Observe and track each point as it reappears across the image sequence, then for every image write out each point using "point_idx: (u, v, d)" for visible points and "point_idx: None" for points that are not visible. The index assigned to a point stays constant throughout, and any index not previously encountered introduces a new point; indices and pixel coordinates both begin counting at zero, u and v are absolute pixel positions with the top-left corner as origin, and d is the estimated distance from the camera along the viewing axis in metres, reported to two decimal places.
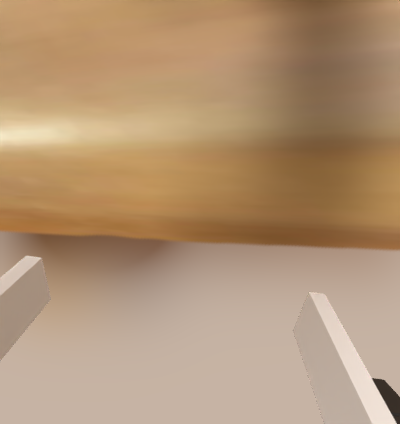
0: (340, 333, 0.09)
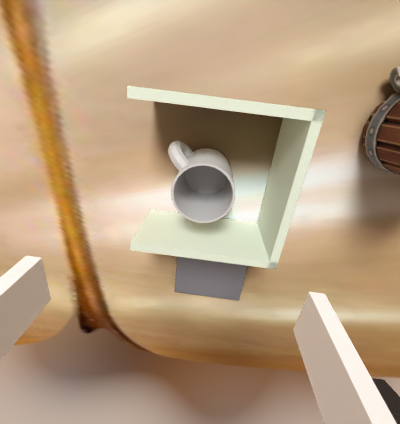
0: (340, 333, 0.09)
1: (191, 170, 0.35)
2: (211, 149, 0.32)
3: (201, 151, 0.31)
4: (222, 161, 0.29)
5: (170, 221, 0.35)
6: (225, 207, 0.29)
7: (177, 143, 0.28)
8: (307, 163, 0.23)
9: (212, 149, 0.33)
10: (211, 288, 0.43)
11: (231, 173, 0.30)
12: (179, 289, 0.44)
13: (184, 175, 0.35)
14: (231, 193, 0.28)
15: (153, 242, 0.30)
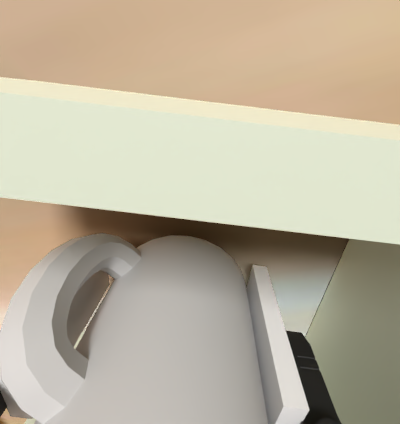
0: (269, 296, 0.11)
1: None
2: (194, 244, 0.11)
3: (161, 264, 0.10)
4: (227, 329, 0.08)
5: None
6: None
7: (55, 272, 0.07)
8: None
9: (197, 241, 0.12)
10: None
11: (255, 354, 0.09)
12: None
13: None
14: None
15: None
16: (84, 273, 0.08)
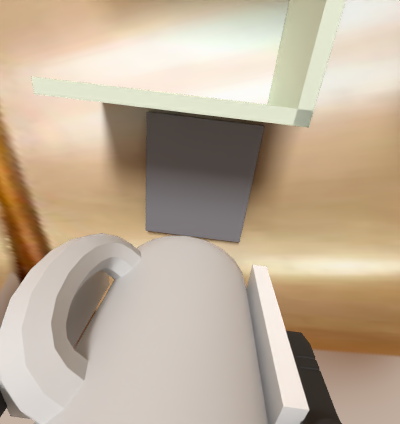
0: (269, 296, 0.11)
1: None
2: (194, 244, 0.11)
3: (161, 264, 0.10)
4: (227, 330, 0.08)
5: None
6: None
7: (54, 273, 0.07)
8: None
9: (197, 242, 0.12)
10: (199, 222, 0.29)
11: (255, 355, 0.09)
12: (152, 226, 0.30)
13: None
14: None
15: (79, 82, 0.16)
16: (84, 273, 0.08)
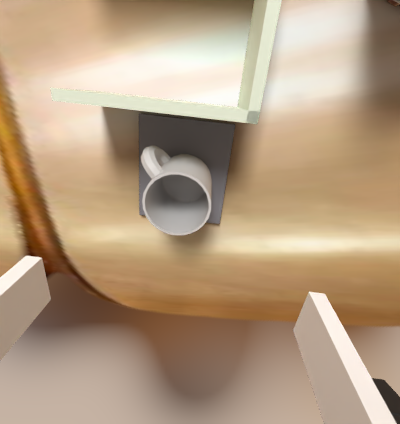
0: (340, 333, 0.09)
1: (170, 176, 0.33)
2: (190, 155, 0.30)
3: (179, 157, 0.29)
4: (200, 169, 0.27)
5: (121, 94, 0.26)
6: (201, 219, 0.27)
7: (151, 149, 0.26)
8: None
9: (191, 155, 0.31)
10: None
11: (209, 182, 0.28)
12: None
13: (162, 182, 0.33)
14: (208, 204, 0.26)
15: (86, 91, 0.21)
16: (157, 153, 0.27)
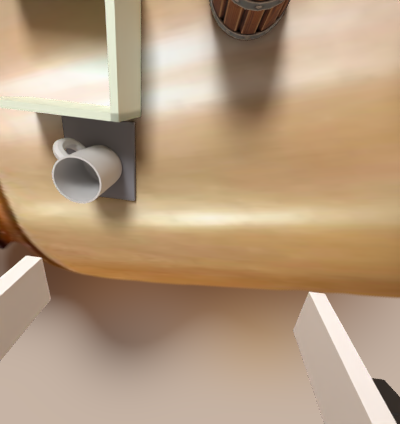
0: (340, 333, 0.09)
1: None
2: (101, 146, 0.40)
3: (89, 147, 0.38)
4: (100, 155, 0.37)
5: (41, 99, 0.36)
6: None
7: (62, 140, 0.36)
8: None
9: (103, 146, 0.40)
10: None
11: (109, 165, 0.37)
12: None
13: (85, 166, 0.42)
14: None
15: (3, 99, 0.31)
16: (69, 143, 0.37)
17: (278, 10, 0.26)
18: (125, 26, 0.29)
